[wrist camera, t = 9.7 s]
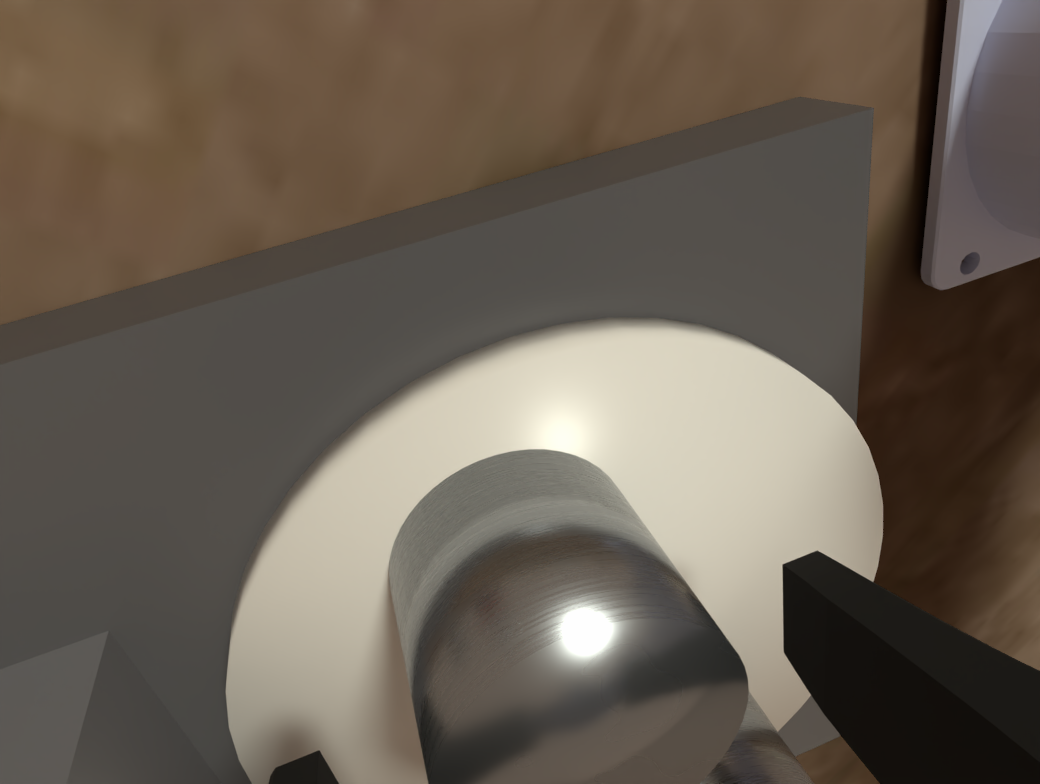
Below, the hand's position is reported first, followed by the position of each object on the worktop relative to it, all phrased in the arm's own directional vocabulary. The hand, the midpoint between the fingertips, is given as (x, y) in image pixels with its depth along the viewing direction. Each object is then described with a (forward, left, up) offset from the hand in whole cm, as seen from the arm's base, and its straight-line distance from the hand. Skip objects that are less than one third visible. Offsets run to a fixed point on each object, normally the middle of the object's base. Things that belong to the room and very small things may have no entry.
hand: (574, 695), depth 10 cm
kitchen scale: (+2, +3, -6) cm, 7 cm away
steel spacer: (0, 0, -3) cm, 3 cm away
